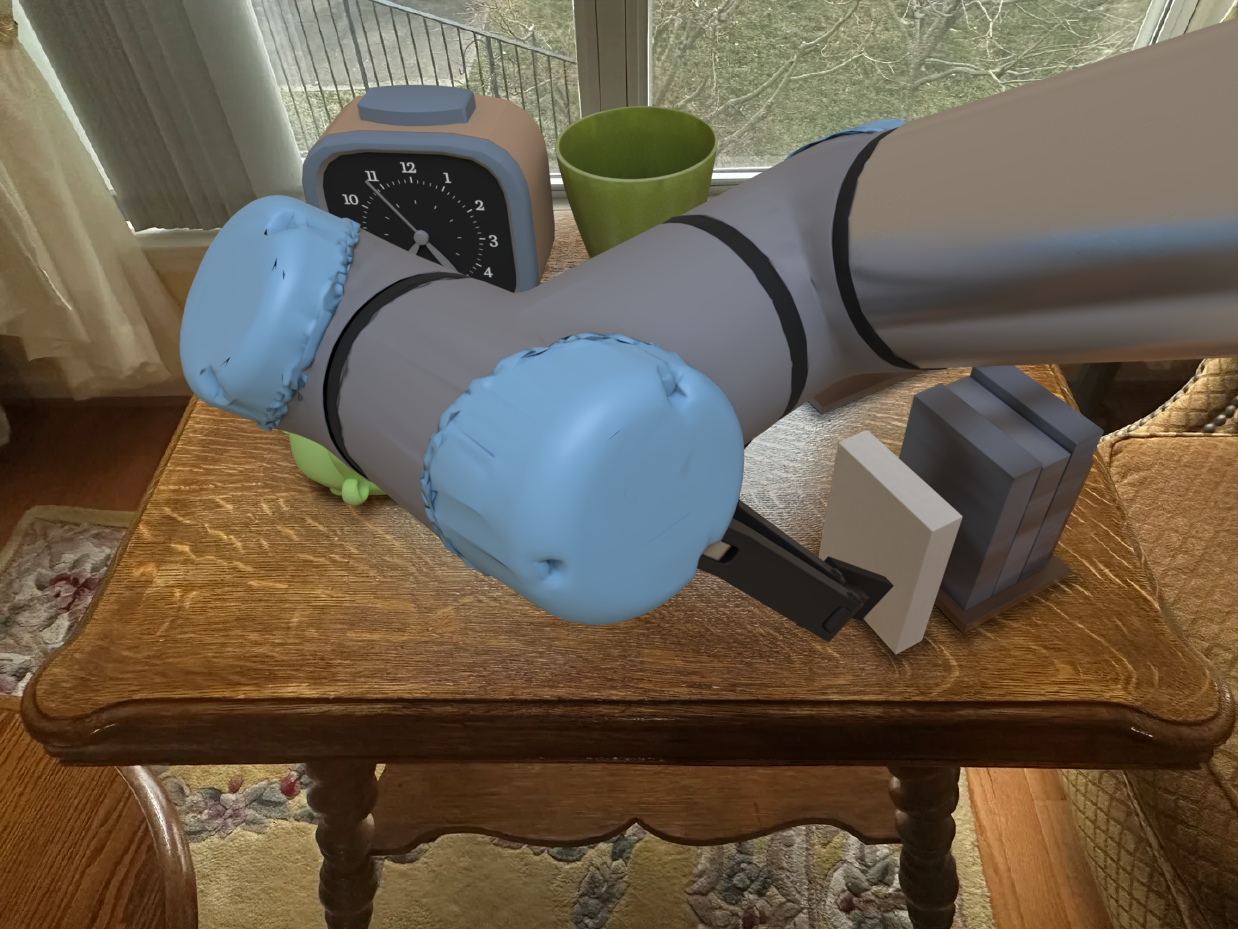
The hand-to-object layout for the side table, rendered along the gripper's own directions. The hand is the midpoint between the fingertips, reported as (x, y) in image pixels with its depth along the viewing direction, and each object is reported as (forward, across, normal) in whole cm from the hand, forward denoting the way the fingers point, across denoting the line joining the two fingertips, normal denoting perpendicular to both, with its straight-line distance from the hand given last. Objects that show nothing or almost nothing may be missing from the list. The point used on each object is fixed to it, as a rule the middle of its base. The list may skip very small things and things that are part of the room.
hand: (800, 519), depth 57 cm
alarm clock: (+6, -50, -13) cm, 52 cm away
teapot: (-2, -32, -21) cm, 38 cm away
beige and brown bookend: (+26, -23, +8) cm, 36 cm away
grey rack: (+21, 0, +2) cm, 21 cm away
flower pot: (+19, -43, 0) cm, 47 cm away
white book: (+14, 0, -4) cm, 15 cm away
